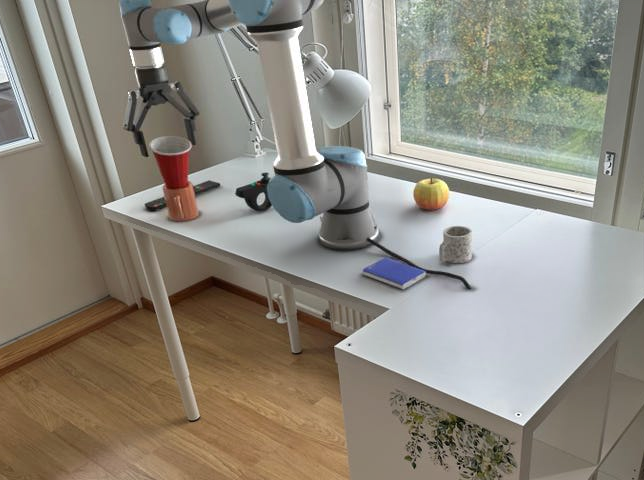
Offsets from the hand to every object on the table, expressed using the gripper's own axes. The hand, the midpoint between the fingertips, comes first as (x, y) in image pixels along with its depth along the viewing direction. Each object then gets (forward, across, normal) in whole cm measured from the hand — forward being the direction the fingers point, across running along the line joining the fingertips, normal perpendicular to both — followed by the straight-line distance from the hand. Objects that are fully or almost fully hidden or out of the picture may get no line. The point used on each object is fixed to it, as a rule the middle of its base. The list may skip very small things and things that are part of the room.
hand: (169, 150), depth 191 cm
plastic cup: (+10, 0, 0) cm, 10 cm away
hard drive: (+20, -17, +72) cm, 76 cm away
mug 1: (+19, +1, +1) cm, 19 cm away
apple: (+19, -52, +47) cm, 72 cm away
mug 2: (+20, -32, +75) cm, 84 cm away
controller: (+19, -17, +13) cm, 28 cm away
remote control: (+19, -6, -14) cm, 24 cm away
